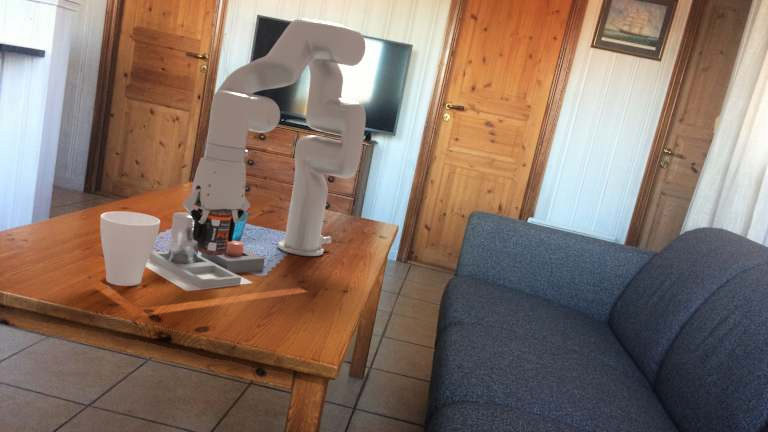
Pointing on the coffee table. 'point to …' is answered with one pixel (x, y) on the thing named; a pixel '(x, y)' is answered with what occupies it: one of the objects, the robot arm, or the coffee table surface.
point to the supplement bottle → (216, 232)
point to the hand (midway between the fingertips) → (212, 239)
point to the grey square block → (238, 261)
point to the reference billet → (182, 240)
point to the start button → (234, 249)
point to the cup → (127, 245)
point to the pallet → (193, 273)
